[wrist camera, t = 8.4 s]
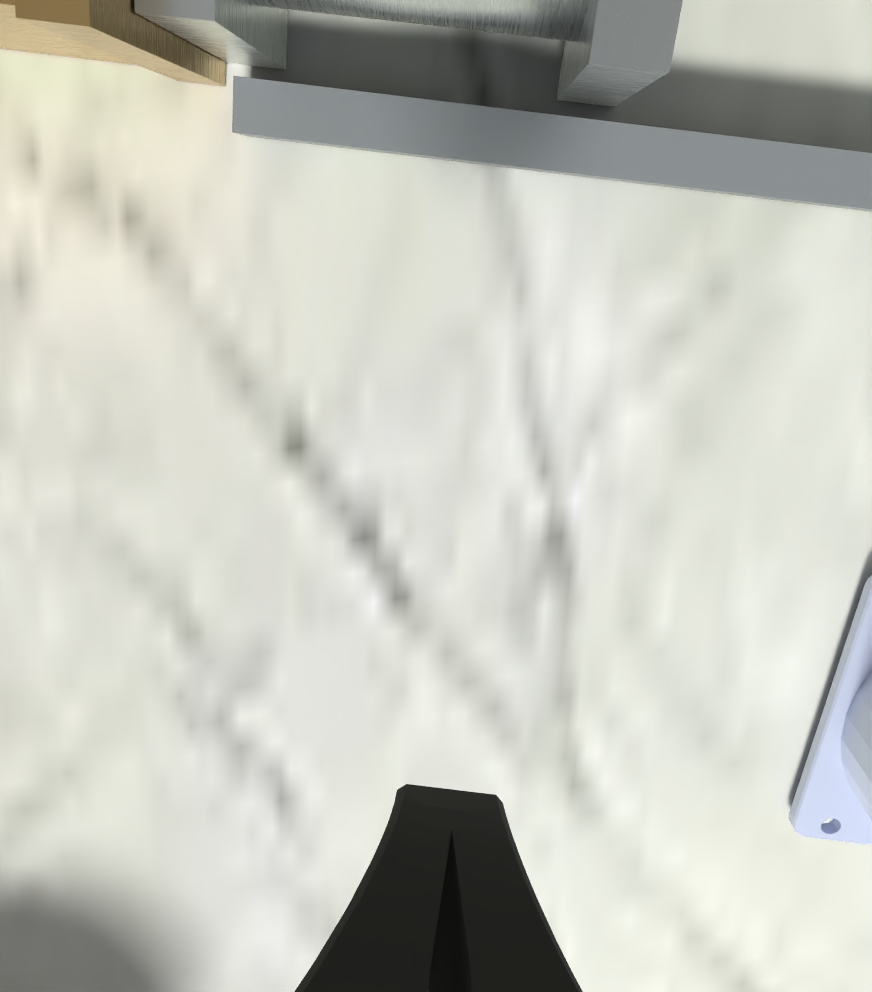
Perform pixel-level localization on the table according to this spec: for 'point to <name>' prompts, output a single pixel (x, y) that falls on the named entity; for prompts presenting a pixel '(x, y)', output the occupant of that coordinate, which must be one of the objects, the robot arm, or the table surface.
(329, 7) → the spool
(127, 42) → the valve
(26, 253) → the table surface
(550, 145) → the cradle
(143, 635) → the table surface
